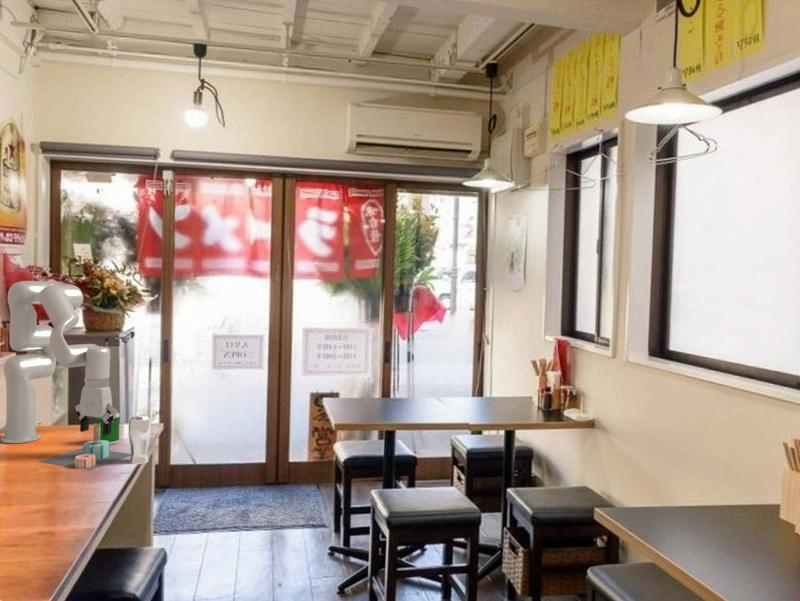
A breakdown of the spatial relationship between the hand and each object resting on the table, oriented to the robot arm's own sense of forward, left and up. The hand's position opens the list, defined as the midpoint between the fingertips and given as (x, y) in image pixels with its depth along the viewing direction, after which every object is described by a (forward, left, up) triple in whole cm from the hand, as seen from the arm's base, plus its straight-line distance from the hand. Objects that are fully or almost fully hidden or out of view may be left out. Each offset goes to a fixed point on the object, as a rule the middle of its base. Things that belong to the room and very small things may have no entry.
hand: (95, 432), depth 219 cm
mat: (0, -3, -8) cm, 9 cm away
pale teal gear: (+1, 0, -8) cm, 8 cm away
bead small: (+6, -10, -8) cm, 14 cm away
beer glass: (+18, +1, -9) cm, 20 cm away
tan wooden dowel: (+1, 0, -8) cm, 8 cm away
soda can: (-8, +15, -9) cm, 19 cm away
